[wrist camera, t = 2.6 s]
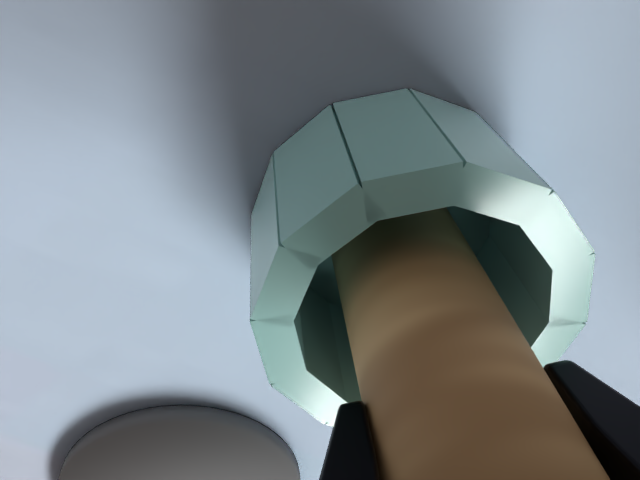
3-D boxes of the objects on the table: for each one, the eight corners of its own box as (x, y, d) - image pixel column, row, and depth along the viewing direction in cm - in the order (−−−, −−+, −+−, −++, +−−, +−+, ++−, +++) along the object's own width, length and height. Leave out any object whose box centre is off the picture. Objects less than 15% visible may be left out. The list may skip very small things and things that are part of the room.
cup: (514, 66, 13) (610, 132, 9) (509, 294, 16) (577, 402, 13) (226, 124, 13) (214, 210, 9) (284, 338, 16) (292, 457, 13)
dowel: (451, 173, 13) (746, 601, 5) (455, 278, 14) (685, 722, 7) (320, 199, 13) (419, 664, 5) (339, 300, 14) (436, 770, 7)
